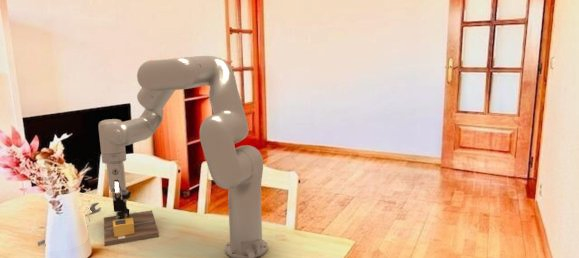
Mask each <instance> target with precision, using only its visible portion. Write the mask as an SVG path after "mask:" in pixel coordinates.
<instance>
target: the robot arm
mask: <svg viewBox="0 0 579 258" xmlns="http://www.w3.org/2000/svg"><path fill="white" fill-rule="evenodd" d="M136 78H137V82H138V84H139V86H140V87H141V88H140V90H139V91H138V92H137V94H136V96H137V97H136V98H137V101H138V103H139V105H140V106H142V108H144V110H143V112H142V113H141V115H140V116H139V117H138V118H137V117H136V118H133V119H129V120H125V121H122V119H117V118H112V119H110V118H109V119H103V120H101V121H99V122H98V135H99V143H100V144H99V145H100V152H101V154H100V155H101V162H102V164H105V165H106V172H107V180H108V186H109V190H110V192H111V194H112V205H113V212H114V213H117V212H119V211H124V201H123V199H122V190H124V191H125V190H126V189H127V184H126V174H125V164H124V162H125V161H127V153H126V152H127V151H126V146H130V145H132V144H133V145H134V144H135V143H138V142H139V143H140V142H141V141H146V140H148V139H150V138H151V137H152V136H153V135H154V133H155V132H156V131H157V130H158V128H159V127H160V126H161V124H162V122H163V119H164V107H165V106H166V105H167V103H168V101H169V100H170V98H171V97H172V96H173V94H174V93H175V91H177V90H179V91H180V90H188V89H193V88H200V87H204V86H205V87H206V86H208V87H209V92H208V93H209V94H208V97H209V98H208V99H209V103H210V106H211V109H212V113H213V114H211V115H208V116H207V117H206V118H205V119H204V120H203V121H202V122H201V124H200V127H199V141H200V144H201V148H202V151H203V155H204V158H205V161H206V164H207V169H208V170H209V174H210V177H211V179H212V181H213V182H214V183H215V185H217V186H218V187H219V188H221V189H225V190H228V196H227V197H228V225H229V241H228V242H227V243H226V245H224V252H225V254H226V255H227V256H228V257H230V258H259V257H261V256H263V255H265V253H266V252H267V251H268V248H269V247H268V243H267V242H266V241H265V240H264V239H263V228H262V227H263V225H262V223H263V222H262V221H263V219H262V182H263V181H262V180H263V179H262V178H263V171H264V159H263V156H262V153H261V151H259V149H257V147H255V146H252V145H248V144H246V145H240V146H238V147H235V144H237V143H240V142H241V141H243V140H245V139H246V137H248V135H249V129H250V126H249V123H248V119H247V116H246V113H245V109H244V107H243V103H242V99H241V96H240V93H239V90H238V85H237V80H236V76H235V73H234V70H233V69H232V67H231V65H230V64H229V63H228V62H227V61H226V60H225V59H222V58H221V57H217V56H215V55H214V56H213V55H198V56H187V57H186V56H185V57H175V58H167V59H165V58H164V59H153V60H147V61H145V62H143V63H142V64H141V65H140V67H139V68H138V70H137V74H136ZM119 189H120V190H119ZM115 193H116V194H115Z"/></svg>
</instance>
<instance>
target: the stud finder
mask: <svg viewBox="0 0 579 258" xmlns="http://www.w3.org/2000/svg"><path fill="white" fill-rule="evenodd" d="M113 230H114V237H119V236H125V235H130V234H135V232H134V222H133V218H127V219H121V220H114V221H113Z"/></svg>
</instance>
